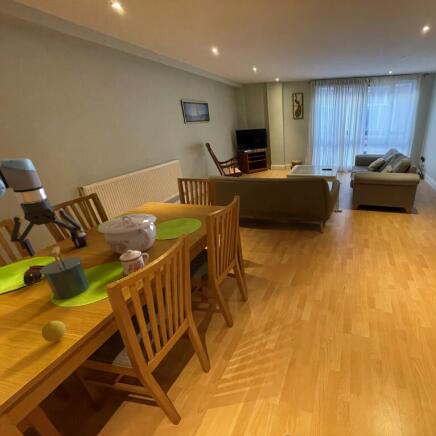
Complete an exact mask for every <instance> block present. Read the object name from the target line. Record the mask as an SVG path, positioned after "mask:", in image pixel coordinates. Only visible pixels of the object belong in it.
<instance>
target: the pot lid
mask: <svg viewBox="0 0 436 436" xmlns="http://www.w3.org/2000/svg"><path fill="white" fill-rule="evenodd" d="M60 251H61V248H60V246H59V245H58V246H54V247H53V248H52V251H51V252H50V254H51V257H53V258H54V260H53V261H51V262H49V263H47V264H45V265H44V267H43V268H42V269H41V271H40V272H41V274H42V276H43V275H54V274H59V273H62V272H65V271H68V270H71V269H73V268H75V267H76V266H78V265H79V264H80V263H81V264H82V262H83V261H82V258H81V257H79V256H68V257H63V256H62V254H61V252H60Z"/></svg>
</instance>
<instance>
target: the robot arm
mask: <svg viewBox="0 0 436 436" xmlns="http://www.w3.org/2000/svg"><path fill="white" fill-rule="evenodd" d="M7 189H12V191H13V194H14V195H15V197H16V200H17V202H18V203H19V207H21V210H22V212H23V214H24V215H18V214H17V215H15V216H14V217H13V219H12V220H13V221H14V223H13V224H14V225H13V229H12V232H11V236H10V239H9V240H10V242H11V243H19V244H20V247H21V249H23V250H26V251H27V253H28V255H29V256H30V258H33V257H34V256H35V254H36V252H35V250H34V248H33V245H32V244H31V242H30V240H29V239H28V238H27V236H28V235H29V233H30V232H31V230H32V229H33V228H34V226H42V225H47V224H50V223H52V224H54V225H57V226H60V227H61V228H63V229H65V230H67V231H69V234H70V238H71V237H72V239H73V242H74V243H73V242H72V243H73V244H74V246H75V248H77V247H78V245H79V243H78V241H77V239H78V238H79V235H78V232H79V231H80V230H81V229H82V225H81V224H80V223H79V222H77V221H76V220H75V219H74V218H73V217H71V216H70V215H69V214H67V212H66V210H65V209H64V208H60V209H58V210H54V209H53V208H52V205H51V203H50V200H49V199H48V196H47V194H46V191H45V189H44V187H43V184H42V182H41V179H40V176H39V174H38V172H37V169H36V167H35V166H34V164H33V162H32V160H31V159H29V158H26V157H15V158H6V159H1V160H0V198H2V197H3V196H4V195H5V193H6V190H7ZM56 215H58V216H60V217H61V218H62V219H64V220H65V221H66V222H65V221H63V220H61V219H59V218H58V217H56ZM24 220H25V221H28V222H29V224H28V225H27V226H26V228H25V230H24V231H23V232H22V234H21V235H20V237H19V234H20V229H21V226H22V222H24Z"/></svg>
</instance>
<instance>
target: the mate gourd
mask: <svg viewBox="0 0 436 436" xmlns="http://www.w3.org/2000/svg"><path fill="white" fill-rule="evenodd" d="M77 232H78V235H79V238H78V239H77V241H78V243H79V245H78V247H76V249H79V248H81V247H88V242H87V241H88V235H87V234H86V232H84V231H77ZM70 240H71V242H72V243H73V244H74V242H73V239H72V237H71V236H70Z"/></svg>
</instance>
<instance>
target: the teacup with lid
mask: <svg viewBox="0 0 436 436" xmlns="http://www.w3.org/2000/svg"><path fill="white" fill-rule="evenodd" d="M143 256H146V257H145V259H143ZM149 257H150V256H149V254H148V253H146V252H140V251H132V250H128V251H127V252H126V253H124V254H123V255H122V254H120V256H119V261H120V264H121V267H122V270H123V272H124V275H125V276H127V275H129V274H131V273H133V272H136V271H138V270H139V269H141V268H143V267H144V266H145V263H147V262H148V261H149Z"/></svg>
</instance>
